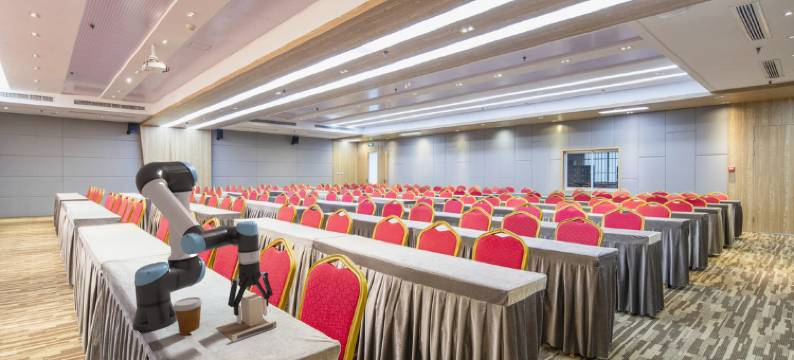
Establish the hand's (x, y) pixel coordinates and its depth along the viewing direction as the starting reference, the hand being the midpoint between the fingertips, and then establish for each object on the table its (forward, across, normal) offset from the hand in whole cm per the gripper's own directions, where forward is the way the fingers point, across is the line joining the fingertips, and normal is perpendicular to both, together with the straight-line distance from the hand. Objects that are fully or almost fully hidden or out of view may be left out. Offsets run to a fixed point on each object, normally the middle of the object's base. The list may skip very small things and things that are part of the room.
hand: (252, 318), depth 151 cm
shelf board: (+3, -4, -4) cm, 6 cm away
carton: (+1, 0, 0) cm, 1 cm away
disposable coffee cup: (+3, -19, +12) cm, 23 cm away
